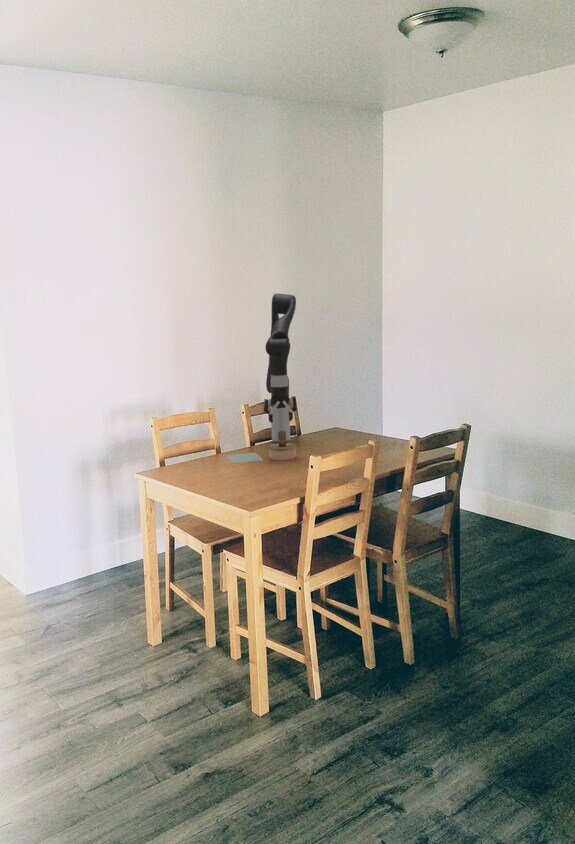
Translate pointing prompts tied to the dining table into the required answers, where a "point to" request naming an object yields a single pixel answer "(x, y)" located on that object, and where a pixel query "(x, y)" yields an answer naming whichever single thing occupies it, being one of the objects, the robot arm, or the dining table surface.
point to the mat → (244, 457)
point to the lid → (282, 443)
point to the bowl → (283, 455)
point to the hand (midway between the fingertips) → (280, 421)
